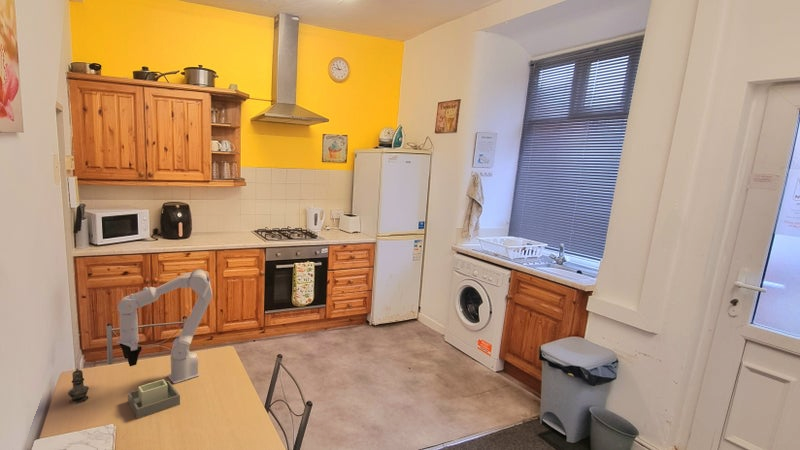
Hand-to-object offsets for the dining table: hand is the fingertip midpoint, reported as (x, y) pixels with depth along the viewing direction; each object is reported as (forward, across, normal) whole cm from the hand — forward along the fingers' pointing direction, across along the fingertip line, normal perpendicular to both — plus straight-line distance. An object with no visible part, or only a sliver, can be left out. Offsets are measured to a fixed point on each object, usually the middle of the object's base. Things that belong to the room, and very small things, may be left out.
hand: (130, 361), depth 154 cm
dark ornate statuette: (+10, 0, -16) cm, 19 cm away
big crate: (+9, +19, +3) cm, 21 cm away
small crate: (+9, +19, +3) cm, 21 cm away
